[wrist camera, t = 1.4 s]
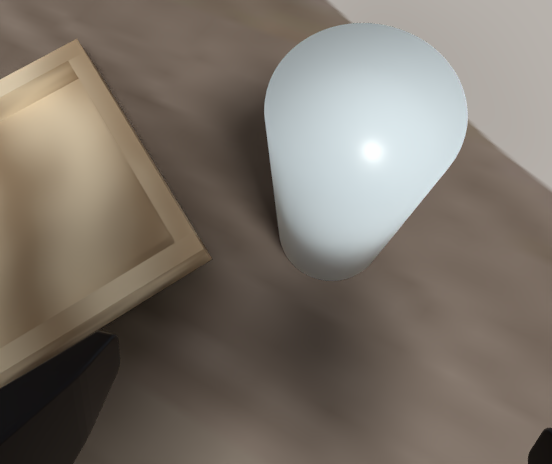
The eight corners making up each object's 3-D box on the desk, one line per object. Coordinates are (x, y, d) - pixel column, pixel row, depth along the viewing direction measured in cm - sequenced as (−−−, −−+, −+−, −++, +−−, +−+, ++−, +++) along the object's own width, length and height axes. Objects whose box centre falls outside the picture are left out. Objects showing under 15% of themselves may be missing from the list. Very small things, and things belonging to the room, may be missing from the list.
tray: (-76, 436, 22) (-118, 445, 19) (-163, 204, 25) (-207, 189, 23) (212, 259, 23) (203, 248, 21) (94, 65, 27) (76, 38, 25)
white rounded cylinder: (316, 301, 23) (338, 242, 11) (259, 215, 24) (227, 83, 12) (403, 244, 23) (510, 133, 12) (343, 163, 25) (387, -8, 13)
